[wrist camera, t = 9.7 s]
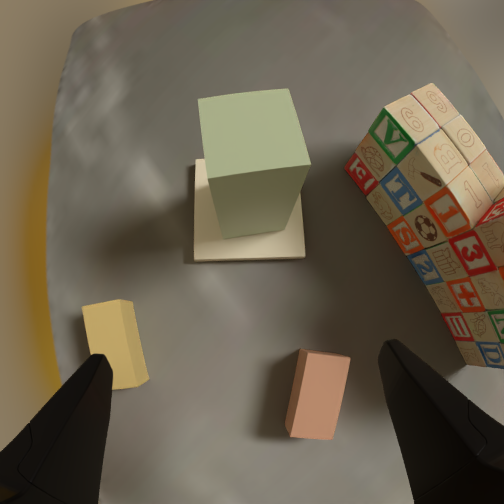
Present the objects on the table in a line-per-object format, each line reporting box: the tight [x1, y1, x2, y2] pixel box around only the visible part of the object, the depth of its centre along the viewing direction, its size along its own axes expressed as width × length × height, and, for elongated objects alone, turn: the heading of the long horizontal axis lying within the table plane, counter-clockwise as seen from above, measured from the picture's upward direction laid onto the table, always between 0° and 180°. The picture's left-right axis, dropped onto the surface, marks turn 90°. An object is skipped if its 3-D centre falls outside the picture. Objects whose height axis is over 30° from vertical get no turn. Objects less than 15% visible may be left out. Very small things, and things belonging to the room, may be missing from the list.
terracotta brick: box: [285, 349, 351, 440], centre depth 21 cm, size 6×3×3 cm, turn 170°
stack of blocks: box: [344, 83, 504, 369], centre depth 19 cm, size 21×6×12 cm, turn 34°
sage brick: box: [198, 89, 311, 239], centre depth 19 cm, size 4×4×10 cm
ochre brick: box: [82, 299, 149, 390], centre depth 21 cm, size 6×3×3 cm, turn 13°
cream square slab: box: [194, 159, 305, 262], centre depth 24 cm, size 8×8×2 cm
